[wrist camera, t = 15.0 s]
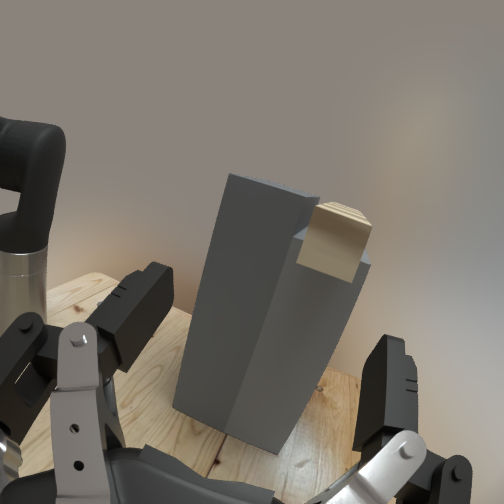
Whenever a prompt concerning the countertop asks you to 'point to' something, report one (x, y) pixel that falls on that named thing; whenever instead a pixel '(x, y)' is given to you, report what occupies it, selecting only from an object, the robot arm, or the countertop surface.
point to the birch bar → (335, 240)
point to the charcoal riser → (261, 317)
